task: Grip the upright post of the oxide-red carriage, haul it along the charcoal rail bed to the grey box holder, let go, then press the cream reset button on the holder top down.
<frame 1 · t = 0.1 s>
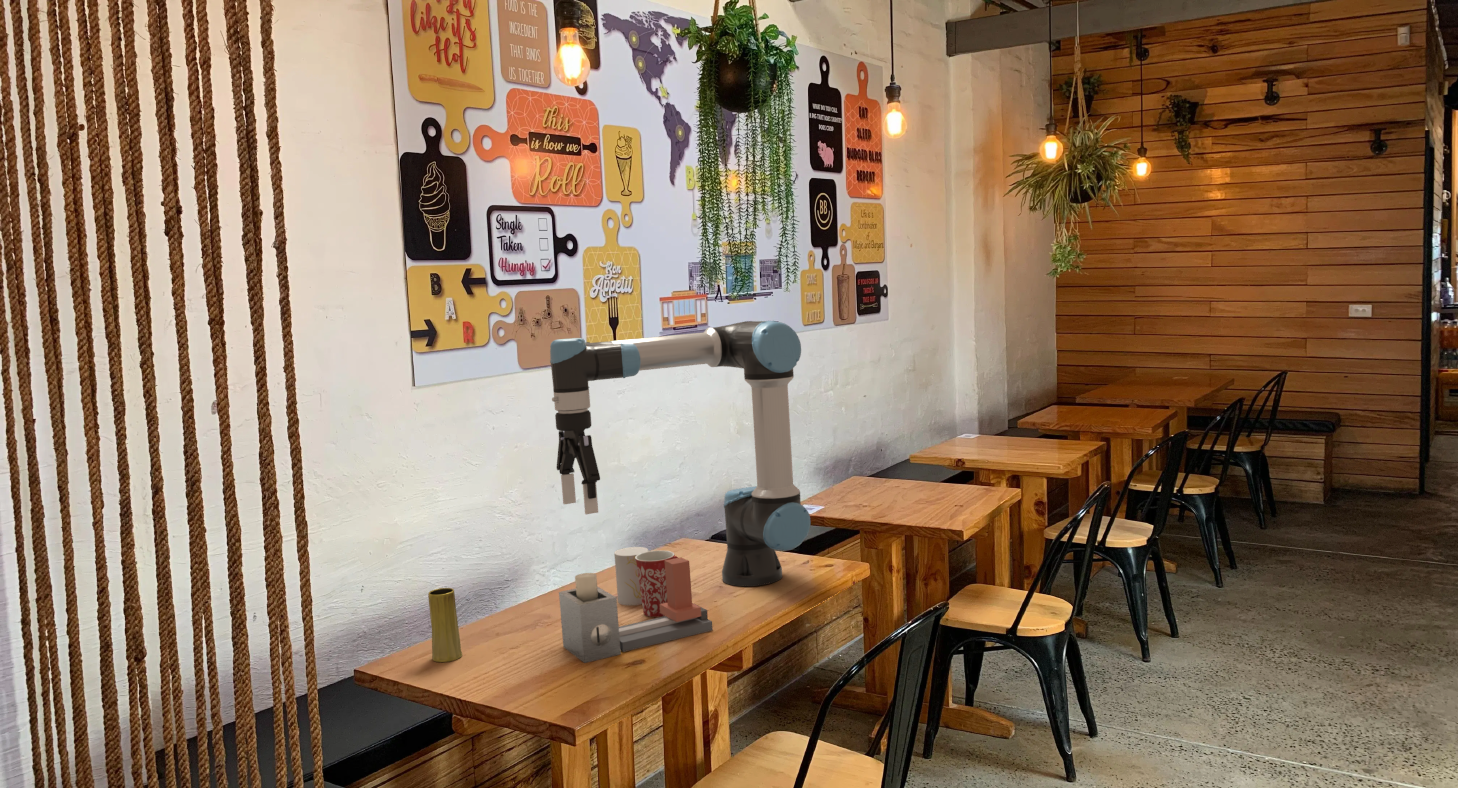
hand: (580, 508, 231), 28 cm above the table, fingers open, 13 cm apart
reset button: (586, 587, 221), point 14 cm above the table, slide at 0.0 cm
rail bed: (658, 634, 230), on the table
vase: (447, 658, 224), on the table
mug: (664, 611, 247), on the table
cup: (635, 600, 257), on the table
carriage: (678, 587, 232), point 9 cm above the table, slide at 0.0 cm
grey box holder: (591, 650, 223), on the table
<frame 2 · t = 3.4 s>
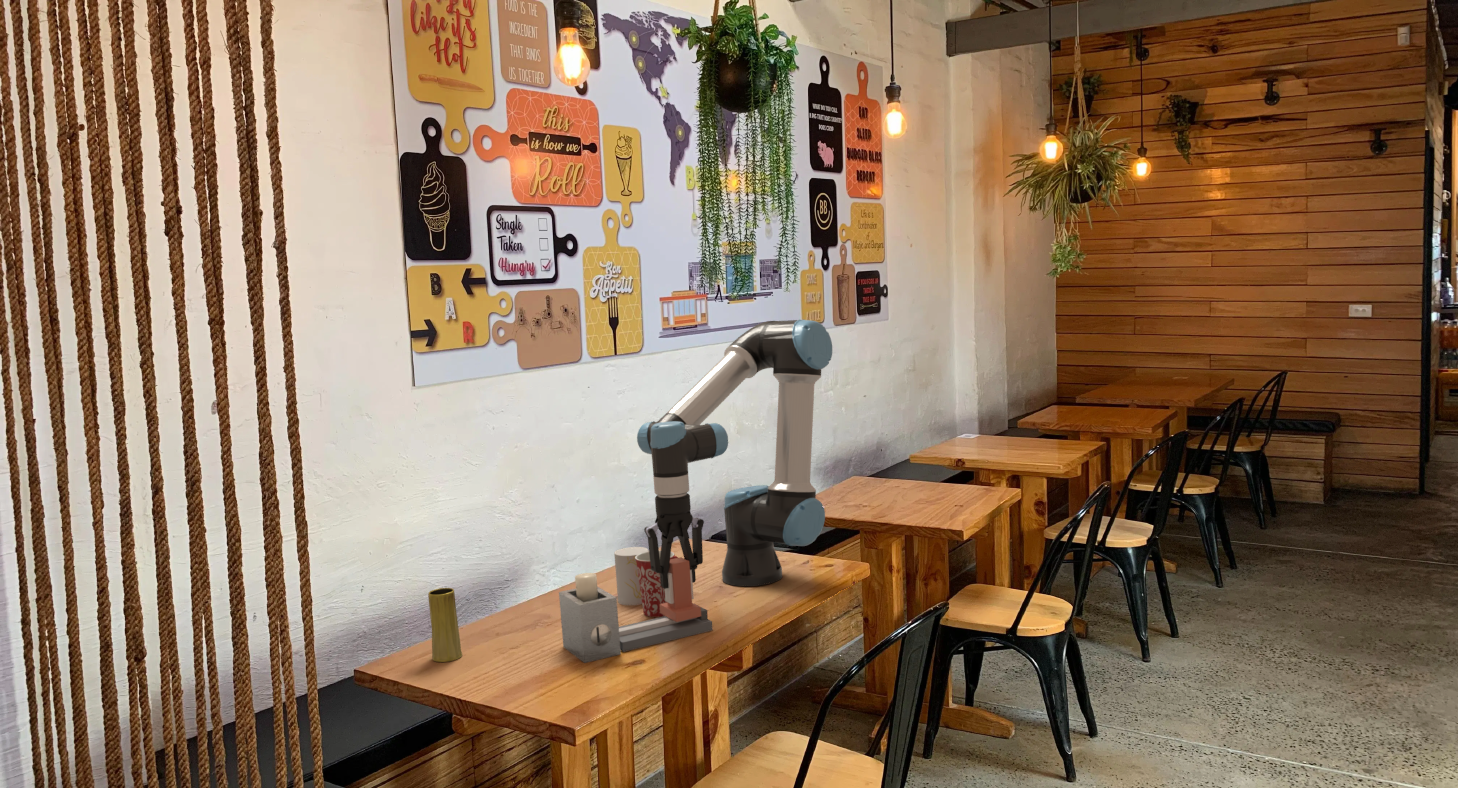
hand: (679, 599, 232), 7 cm above the table, fingers closed on carriage, 4 cm apart
carriage: (678, 587, 232), point 9 cm above the table, slide at 0.0 cm, touching gripper
everything else where it was.
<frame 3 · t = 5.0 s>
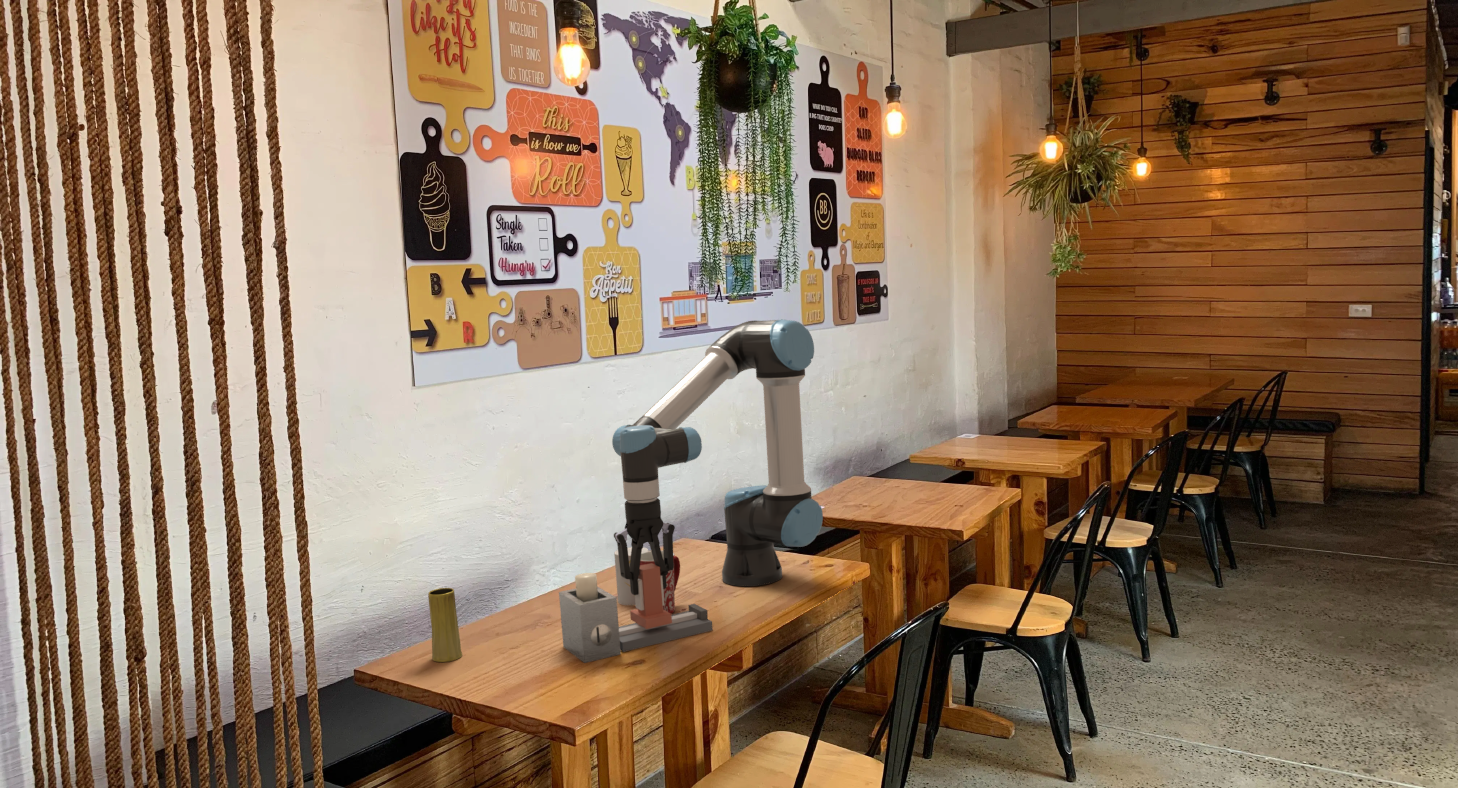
hand: (650, 606, 229), 7 cm above the table, fingers closed on carriage, 4 cm apart
carriage: (649, 594, 228), point 9 cm above the table, slide at 7.1 cm, touching gripper
everything else where it was.
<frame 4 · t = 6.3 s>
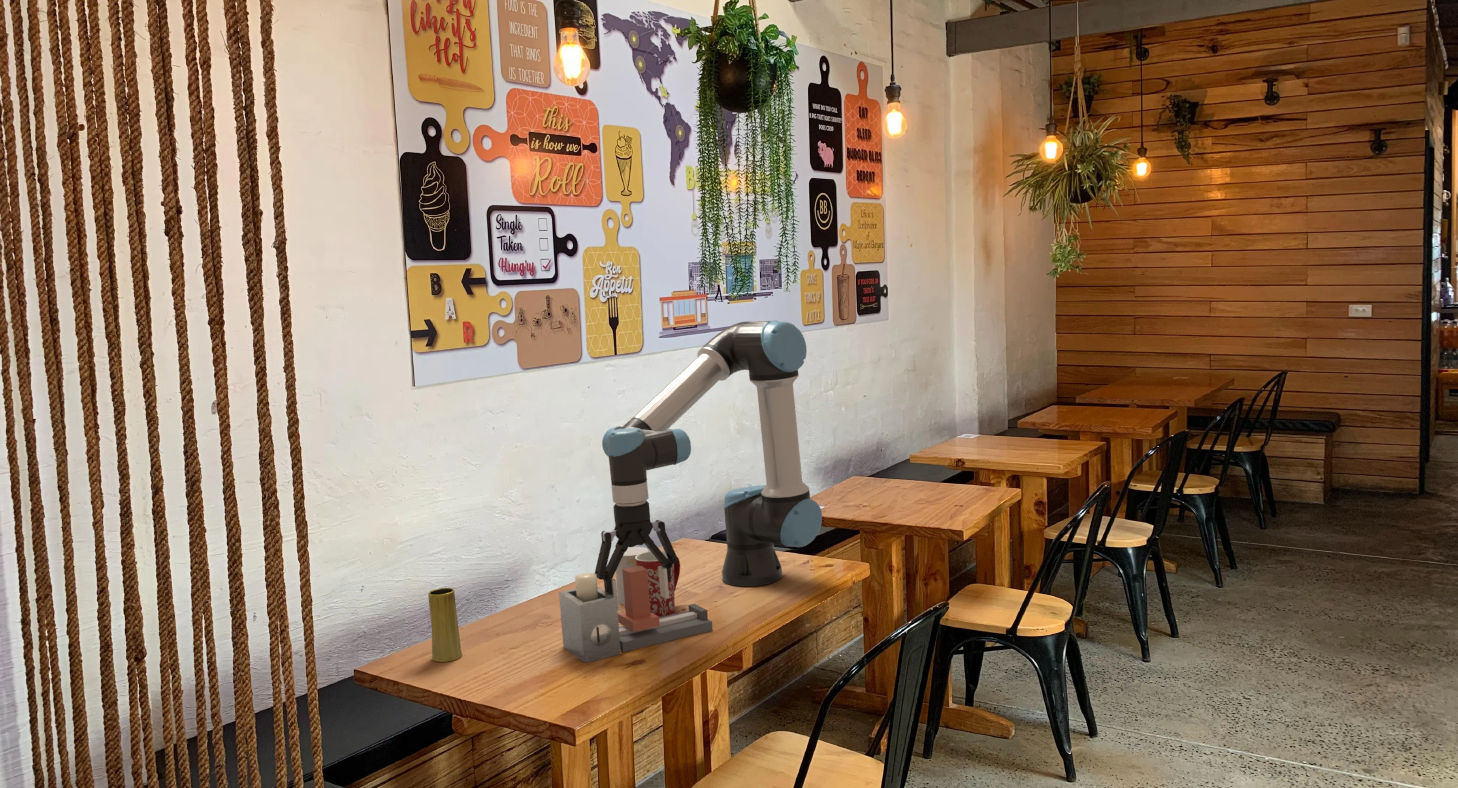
hand: (640, 602, 227), 8 cm above the table, fingers open, 11 cm apart
carriage: (636, 596, 227), point 9 cm above the table, slide at 10.0 cm
everything else where it was.
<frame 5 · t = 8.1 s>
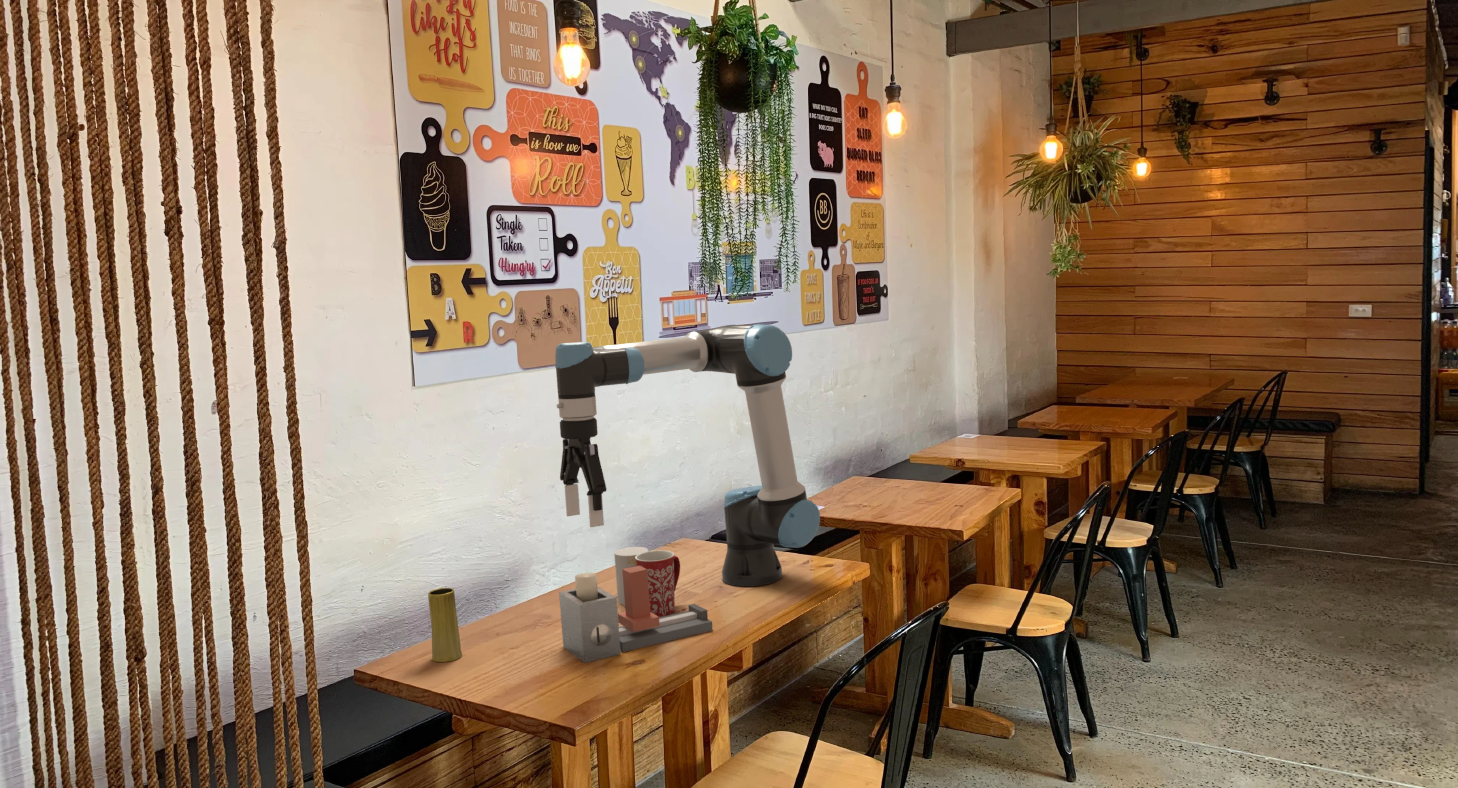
hand: (584, 520, 220), 28 cm above the table, fingers open, 13 cm apart
nothing on the table moved.
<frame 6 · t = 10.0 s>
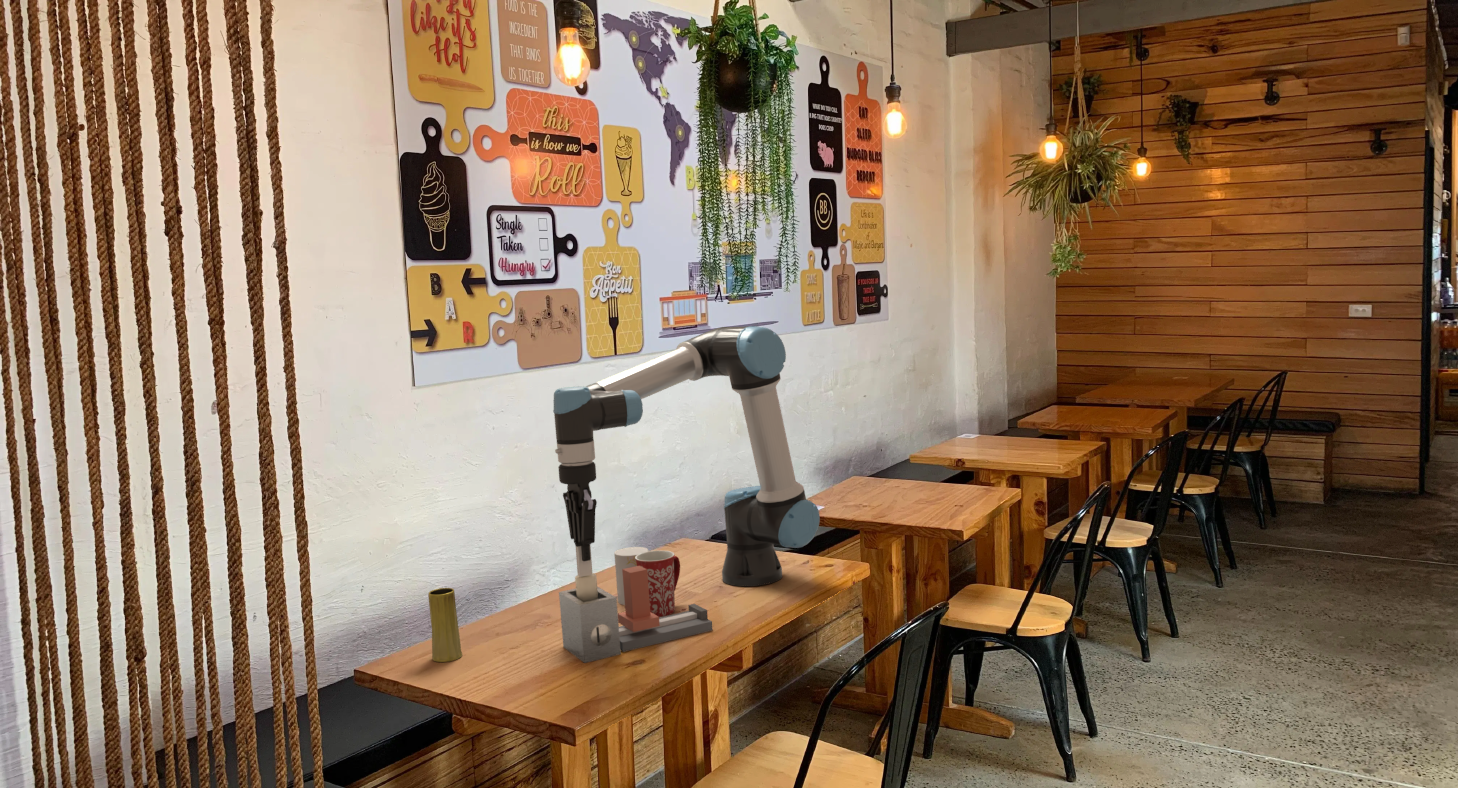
hand: (585, 575, 221), 16 cm above the table, fingers closed
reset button: (586, 587, 221), point 13 cm above the table, slide at 0.1 cm, touching gripper
everything else where it was.
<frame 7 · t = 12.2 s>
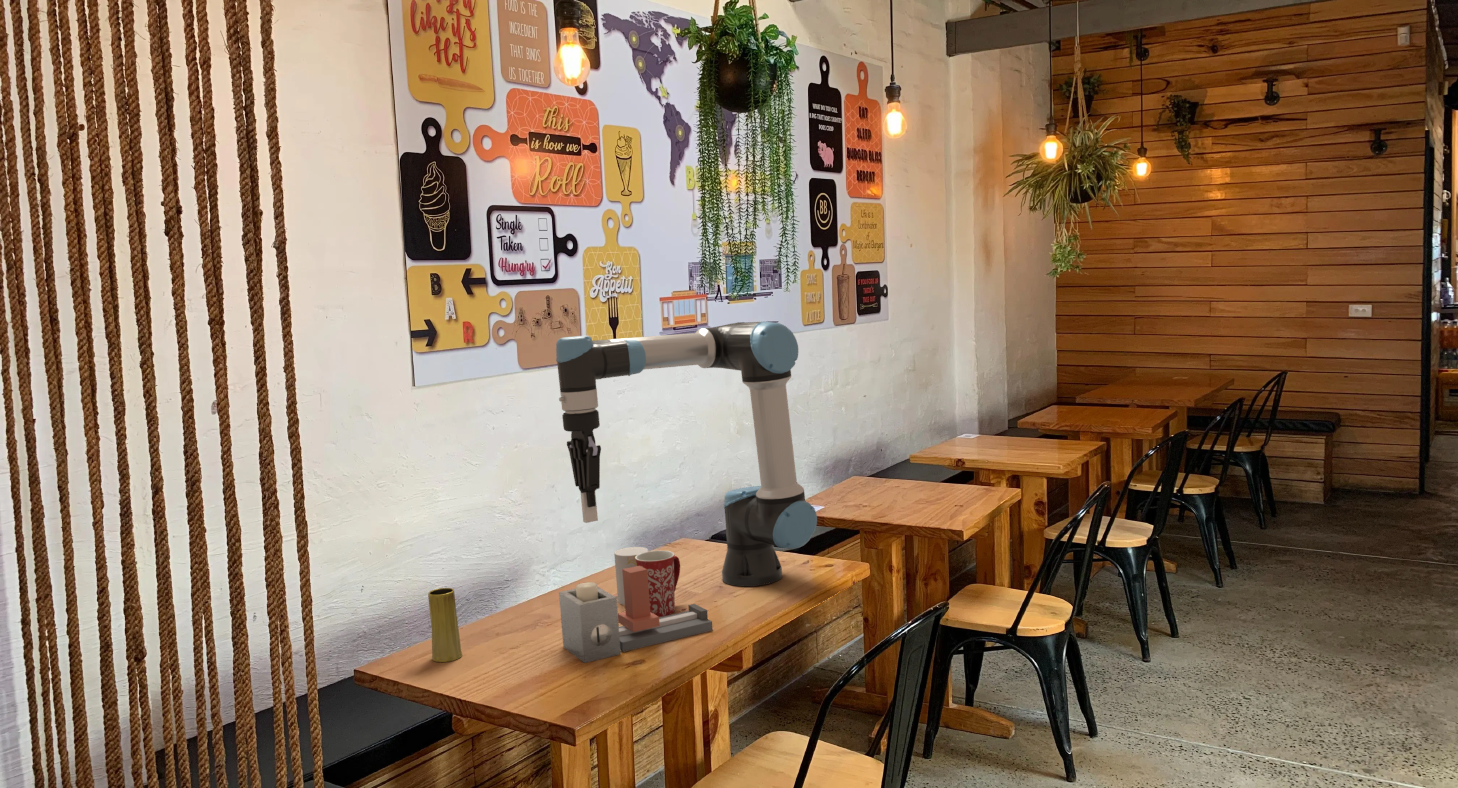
hand: (590, 521, 225), 26 cm above the table, fingers closed
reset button: (587, 597, 221), point 11 cm above the table, slide at 2.0 cm
everything else where it was.
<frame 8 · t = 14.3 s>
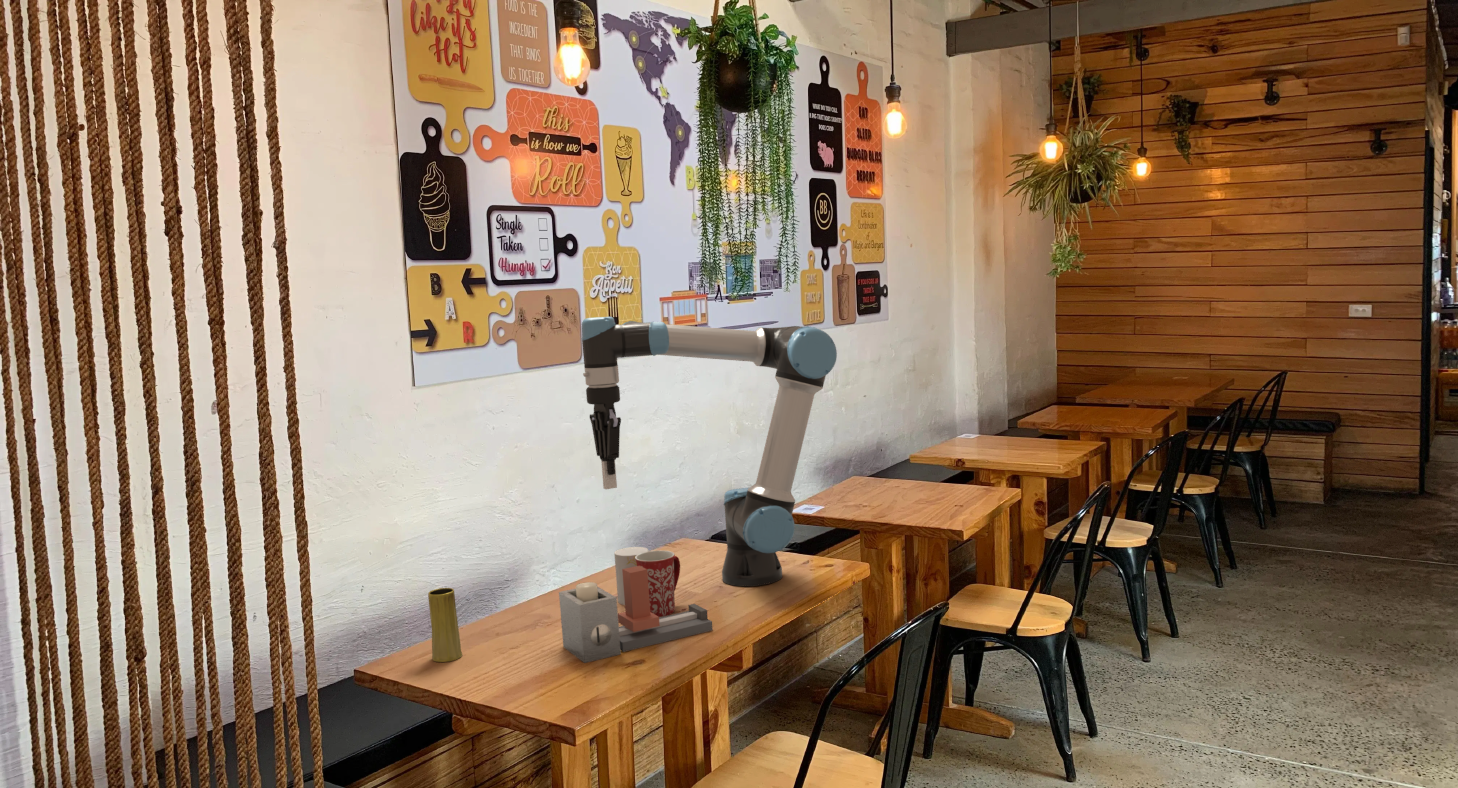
hand: (610, 487, 244), 29 cm above the table, fingers closed
nothing on the table moved.
at the end: carriage slide at 10.0 cm; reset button slide at 2.0 cm; the gripper is holding nothing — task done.
